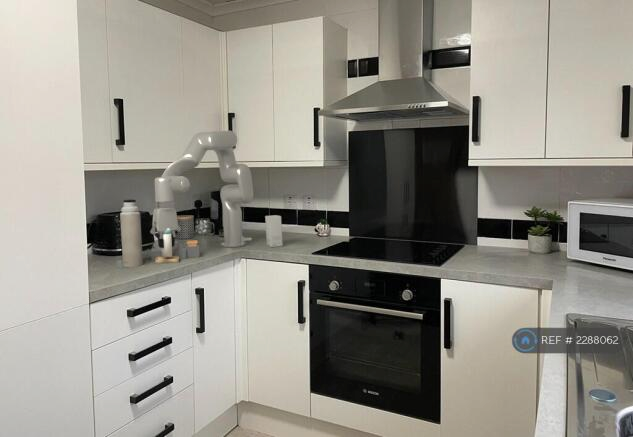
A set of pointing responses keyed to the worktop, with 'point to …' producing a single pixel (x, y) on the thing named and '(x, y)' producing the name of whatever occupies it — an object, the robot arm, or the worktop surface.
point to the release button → (192, 243)
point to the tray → (166, 259)
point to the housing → (177, 251)
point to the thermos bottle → (131, 234)
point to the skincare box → (273, 231)
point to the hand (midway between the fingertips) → (166, 246)
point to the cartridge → (167, 243)
